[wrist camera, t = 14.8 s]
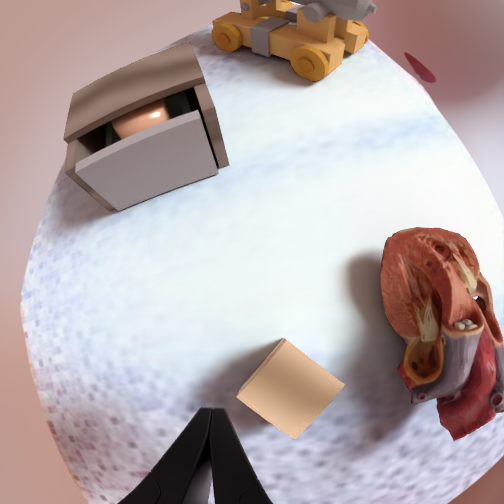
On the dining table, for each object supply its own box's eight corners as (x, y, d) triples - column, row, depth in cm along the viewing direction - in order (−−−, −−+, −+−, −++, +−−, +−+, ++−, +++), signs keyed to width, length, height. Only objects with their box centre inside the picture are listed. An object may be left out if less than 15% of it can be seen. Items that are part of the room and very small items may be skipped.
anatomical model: (441, 190, 18) (558, 304, 5) (478, 289, 21) (535, 400, 8) (342, 259, 23) (362, 423, 10) (400, 339, 26) (423, 461, 13)
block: (290, 417, 19) (294, 439, 15) (243, 382, 21) (236, 397, 16) (329, 373, 20) (345, 384, 15) (283, 337, 21) (287, 340, 17)
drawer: (218, 173, 26) (200, 117, 18) (118, 211, 26) (75, 172, 18) (198, 109, 29) (182, 58, 21) (114, 143, 28) (83, 101, 21)
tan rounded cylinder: (183, 159, 26) (165, 119, 20) (136, 175, 25) (110, 140, 20) (177, 125, 27) (162, 86, 21) (134, 140, 27) (113, 105, 21)
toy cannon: (335, 95, 29) (355, -7, 14) (207, 47, 34) (189, -29, 19) (378, 54, 31) (397, -18, 17) (267, 15, 36) (264, -48, 22)
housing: (229, 165, 26) (212, 99, 18) (109, 210, 26) (59, 167, 17) (206, 99, 29) (190, 41, 21) (107, 139, 29) (73, 93, 20)
